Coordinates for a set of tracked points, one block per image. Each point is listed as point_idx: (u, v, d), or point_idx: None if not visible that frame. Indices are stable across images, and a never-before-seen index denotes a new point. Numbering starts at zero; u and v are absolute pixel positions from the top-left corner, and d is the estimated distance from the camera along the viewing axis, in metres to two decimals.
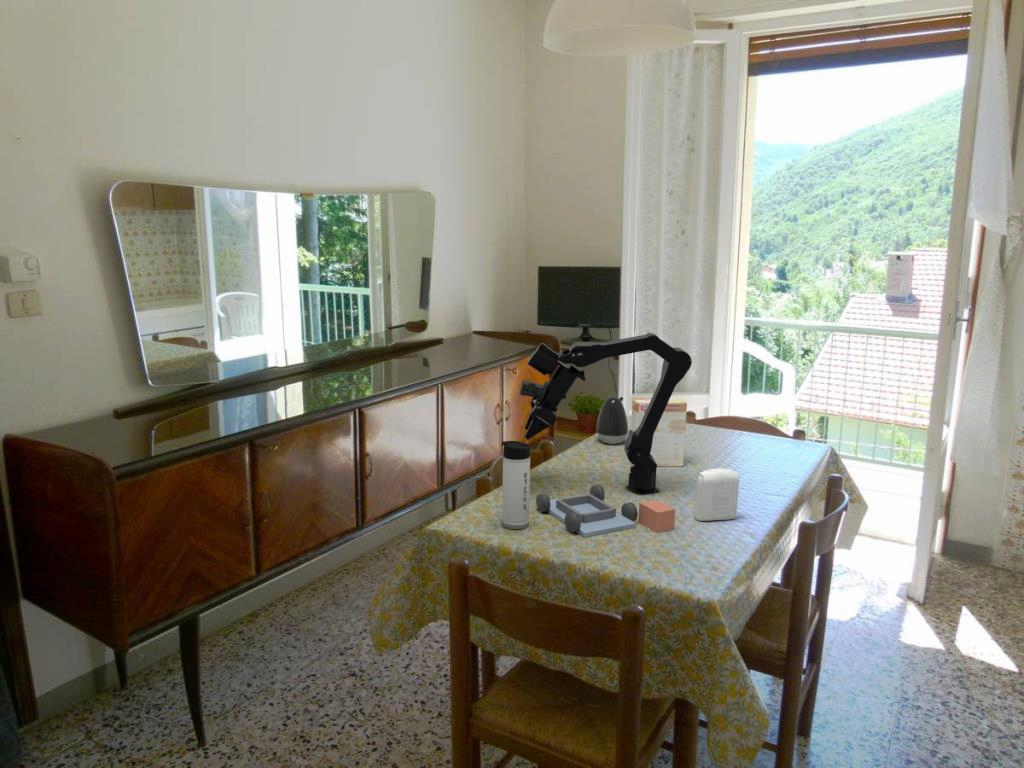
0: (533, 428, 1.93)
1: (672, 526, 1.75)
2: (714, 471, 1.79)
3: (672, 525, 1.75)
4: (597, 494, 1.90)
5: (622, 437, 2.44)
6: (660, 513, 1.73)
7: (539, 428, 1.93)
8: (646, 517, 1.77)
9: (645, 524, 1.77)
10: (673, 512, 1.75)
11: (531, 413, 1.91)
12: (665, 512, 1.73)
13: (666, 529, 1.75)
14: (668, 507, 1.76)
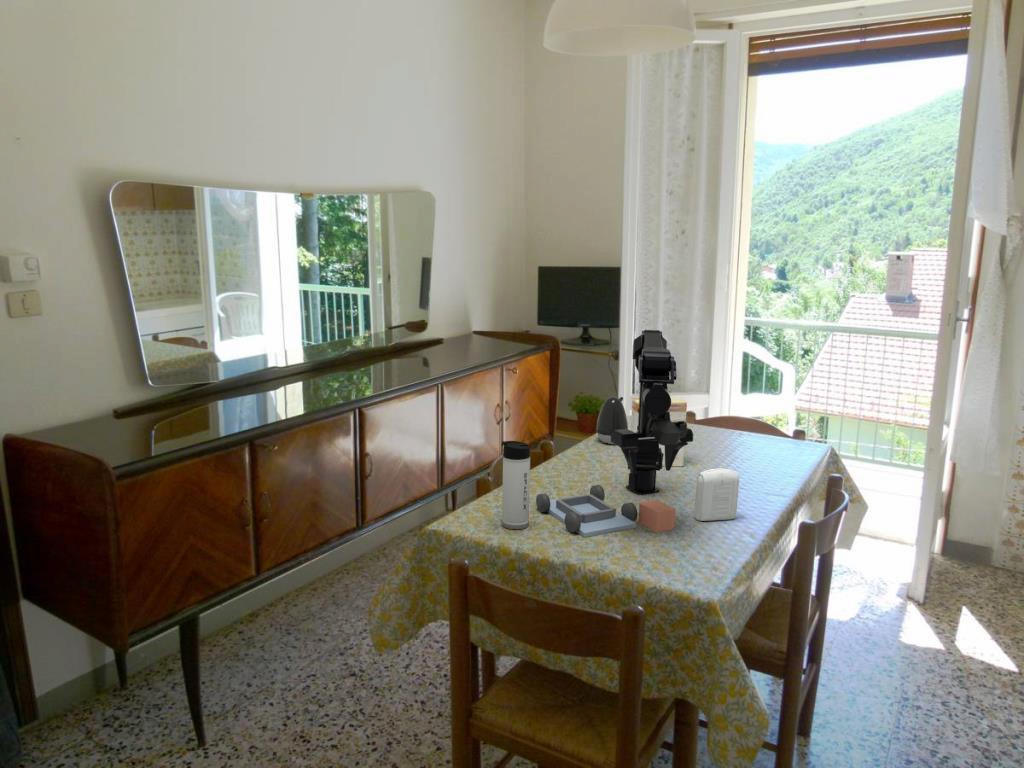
0: None
1: (672, 526, 1.75)
2: (714, 471, 1.79)
3: (672, 525, 1.75)
4: (597, 494, 1.90)
5: None
6: (660, 513, 1.73)
7: None
8: (646, 517, 1.77)
9: (645, 524, 1.77)
10: (673, 512, 1.75)
11: (687, 443, 1.74)
12: (664, 512, 1.73)
13: (666, 529, 1.75)
14: (668, 507, 1.76)
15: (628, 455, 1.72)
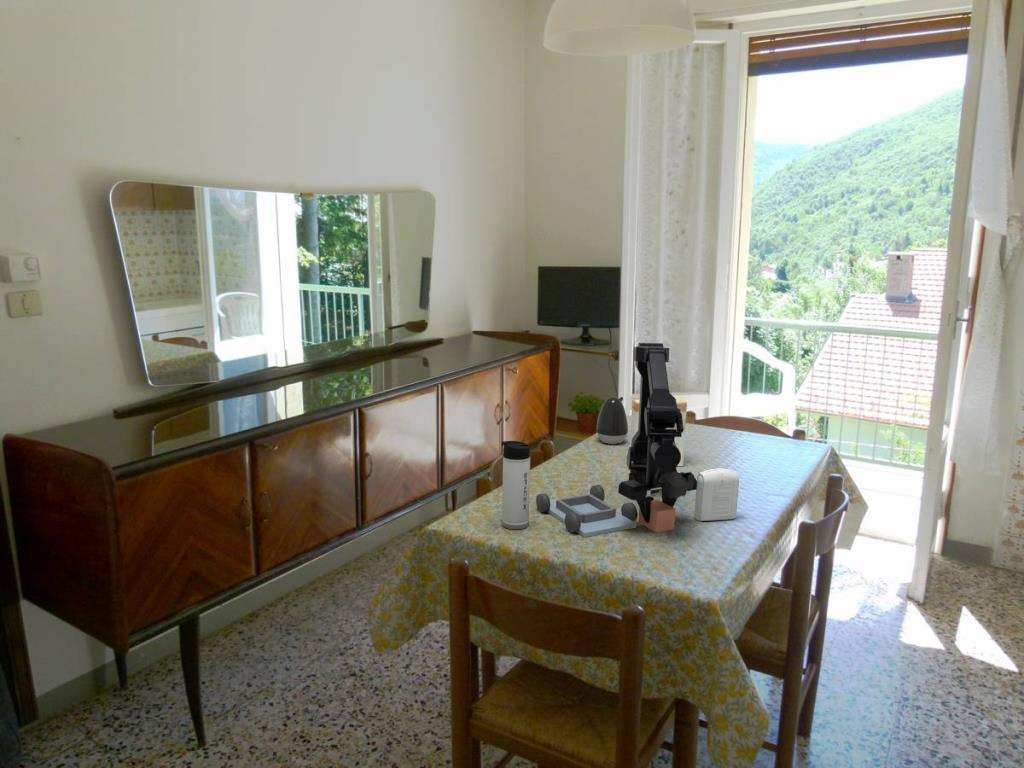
0: None
1: (672, 526, 1.75)
2: (714, 471, 1.79)
3: (672, 525, 1.75)
4: (597, 494, 1.90)
5: (622, 437, 2.44)
6: (660, 512, 1.73)
7: None
8: None
9: (645, 523, 1.77)
10: (673, 512, 1.74)
11: None
12: (664, 511, 1.73)
13: (666, 528, 1.74)
14: (668, 507, 1.76)
15: (642, 504, 1.75)
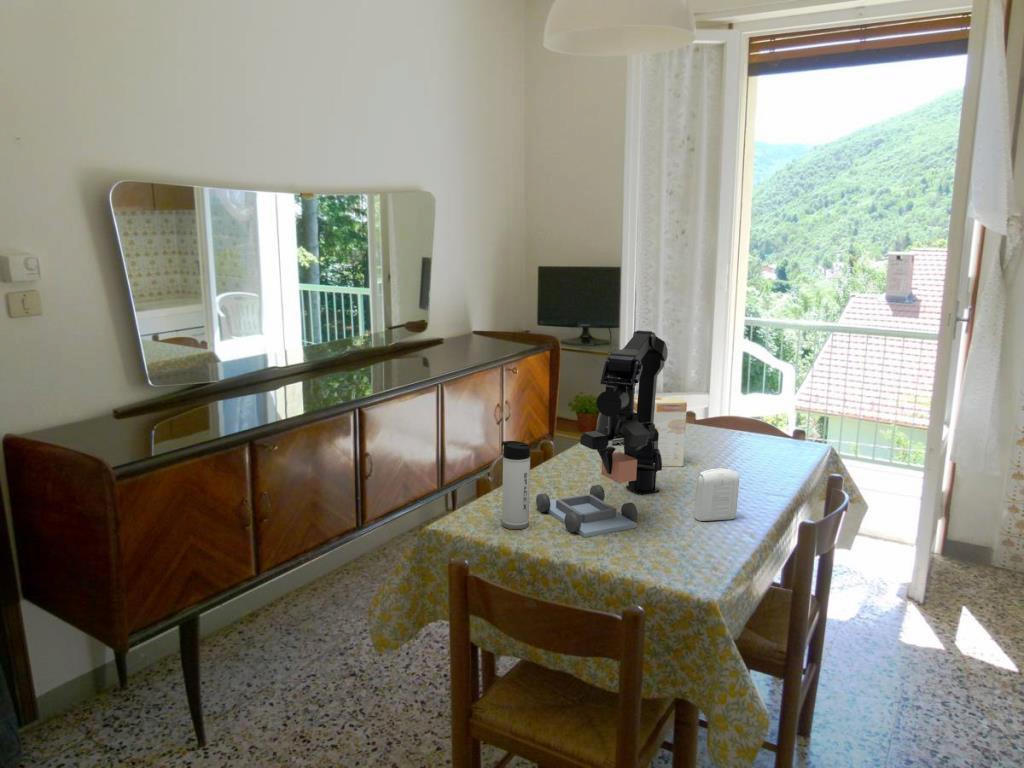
0: None
1: (634, 477, 1.76)
2: (714, 471, 1.79)
3: (634, 475, 1.76)
4: (597, 494, 1.90)
5: None
6: (622, 463, 1.73)
7: None
8: None
9: (608, 475, 1.78)
10: (635, 462, 1.75)
11: (646, 444, 1.77)
12: (626, 462, 1.74)
13: (628, 479, 1.75)
14: (630, 458, 1.76)
15: (604, 455, 1.76)
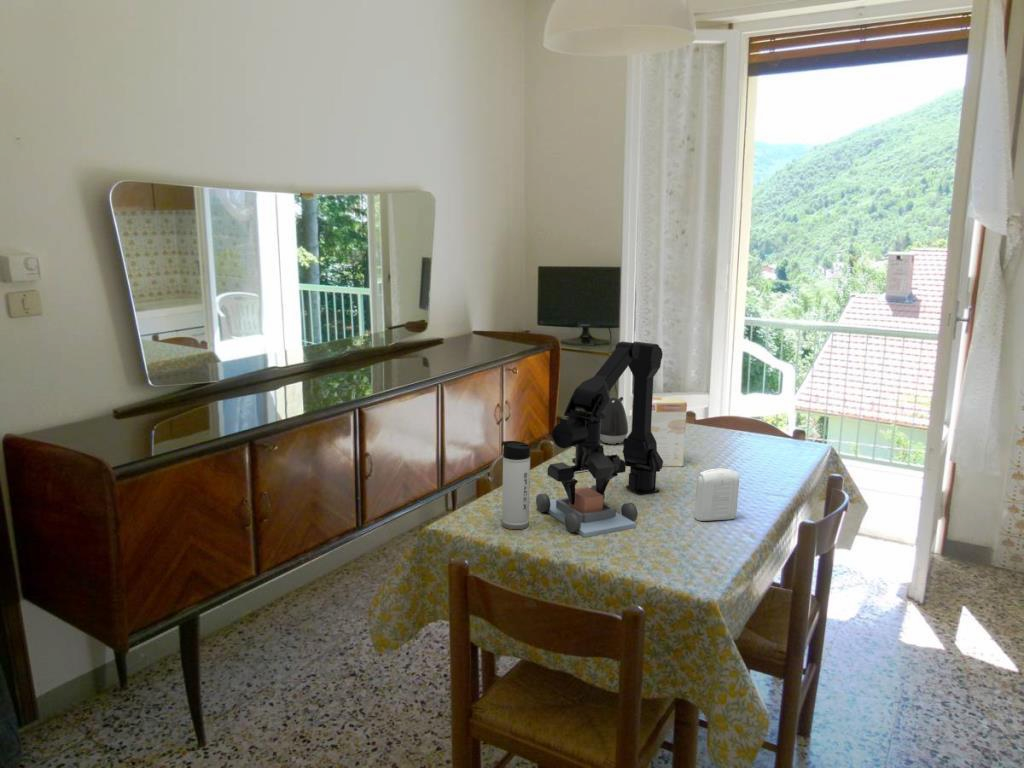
0: None
1: None
2: (714, 471, 1.79)
3: None
4: None
5: (622, 437, 2.44)
6: (588, 499, 1.78)
7: None
8: (575, 503, 1.82)
9: None
10: (601, 498, 1.80)
11: None
12: (592, 498, 1.78)
13: None
14: (597, 493, 1.81)
15: (567, 487, 1.80)
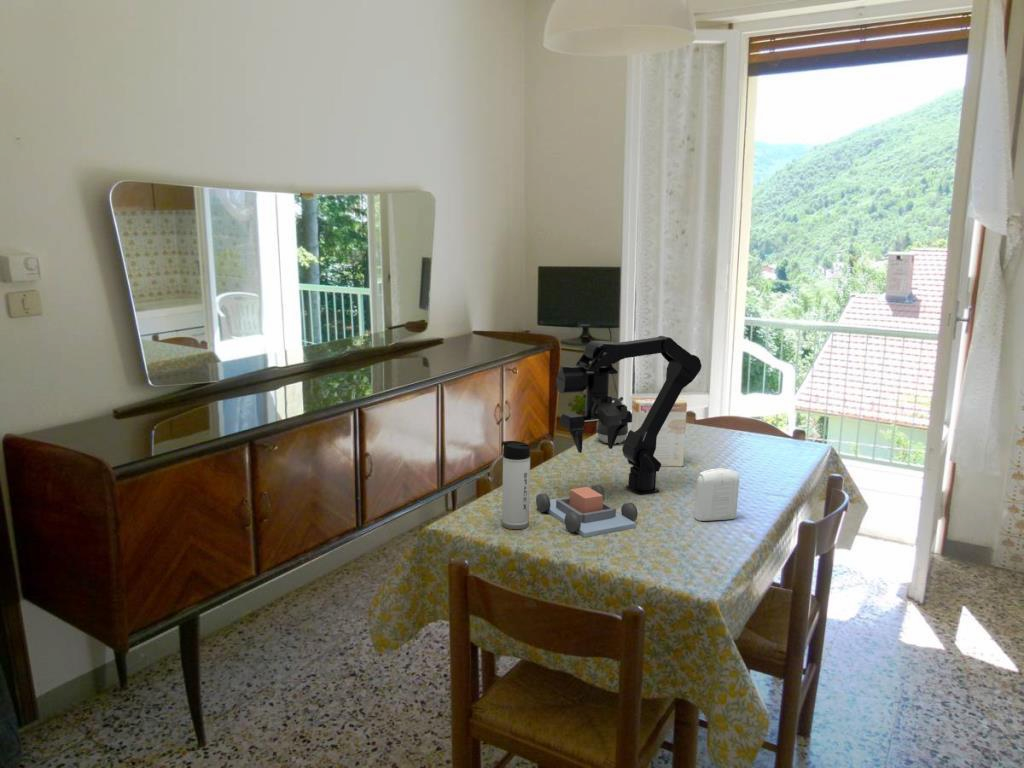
0: None
1: None
2: (714, 471, 1.79)
3: None
4: None
5: (622, 437, 2.44)
6: (588, 499, 1.78)
7: None
8: (575, 503, 1.82)
9: None
10: (601, 498, 1.80)
11: (627, 424, 1.95)
12: (592, 498, 1.78)
13: None
14: (597, 493, 1.81)
15: (575, 436, 1.92)
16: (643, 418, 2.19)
